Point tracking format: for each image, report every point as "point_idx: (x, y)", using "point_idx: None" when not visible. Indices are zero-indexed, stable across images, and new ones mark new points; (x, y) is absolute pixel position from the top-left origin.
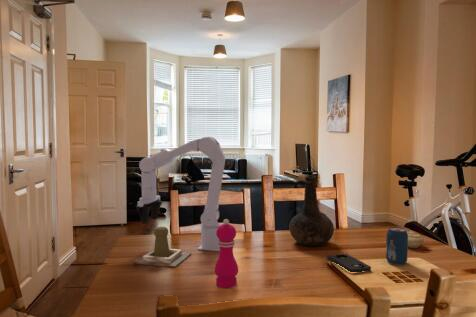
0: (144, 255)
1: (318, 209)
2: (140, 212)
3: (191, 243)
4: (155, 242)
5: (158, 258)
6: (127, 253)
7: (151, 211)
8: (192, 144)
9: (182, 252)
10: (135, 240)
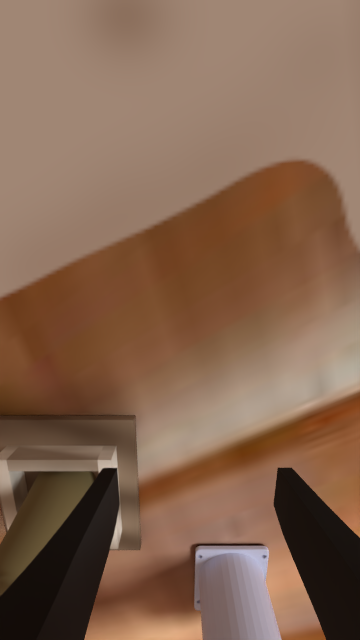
0: (2, 460)
1: None
2: (3, 627)
3: (264, 502)
4: (2, 544)
5: (6, 511)
6: (73, 334)
7: (327, 551)
8: None
9: (138, 524)
10: (259, 261)
